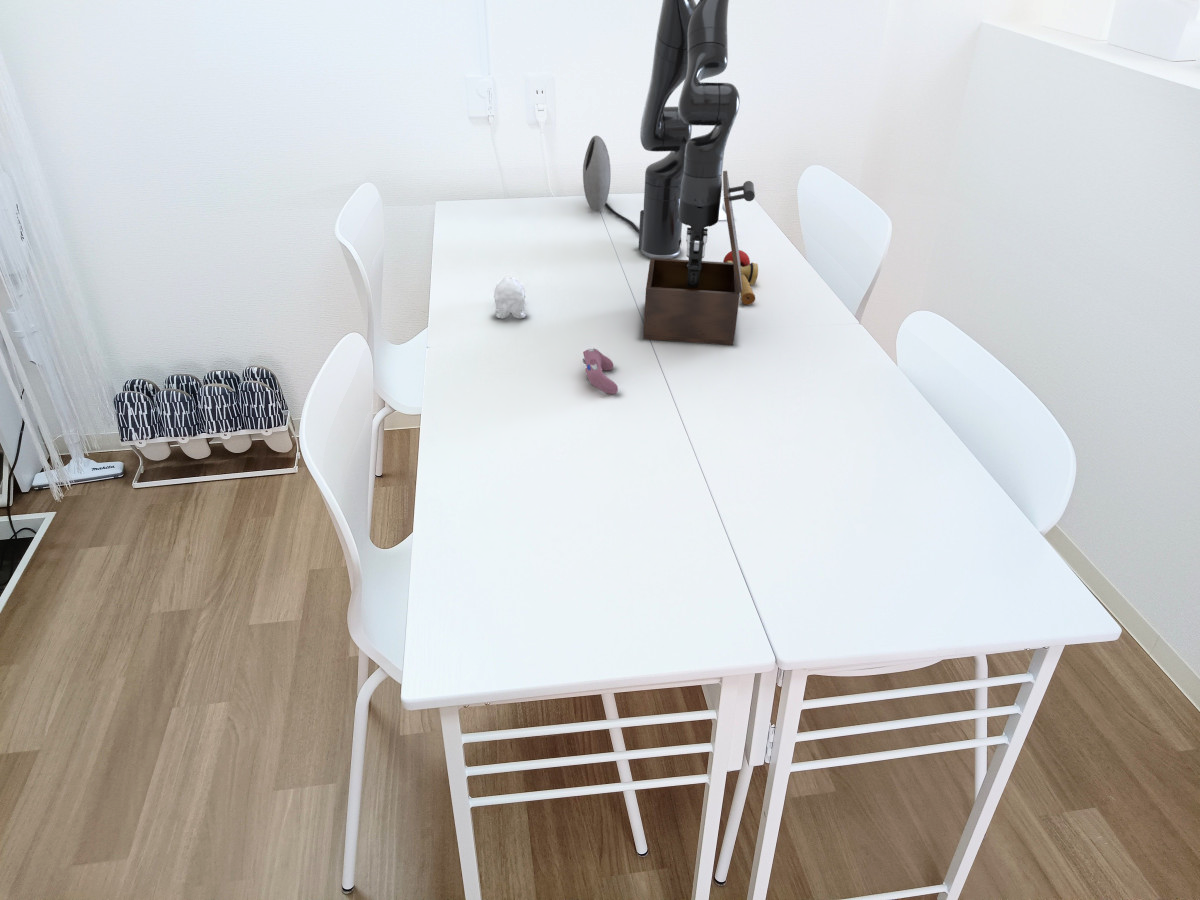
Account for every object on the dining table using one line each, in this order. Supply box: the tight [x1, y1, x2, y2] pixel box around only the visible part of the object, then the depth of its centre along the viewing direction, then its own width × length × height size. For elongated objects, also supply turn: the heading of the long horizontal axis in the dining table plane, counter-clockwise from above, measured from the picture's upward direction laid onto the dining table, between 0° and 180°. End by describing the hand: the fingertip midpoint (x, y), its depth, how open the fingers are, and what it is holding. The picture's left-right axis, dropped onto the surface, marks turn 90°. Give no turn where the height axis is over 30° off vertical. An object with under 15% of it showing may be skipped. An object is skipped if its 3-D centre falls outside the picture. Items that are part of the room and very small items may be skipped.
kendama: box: [722, 249, 759, 306], centre depth 191 cm, size 8×6×18 cm
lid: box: [722, 170, 756, 292], centre depth 164 cm, size 19×15×5 cm
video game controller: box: [582, 347, 619, 395], centre depth 156 cm, size 10×5×7 cm, turn 5°
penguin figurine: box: [493, 276, 527, 319], centre depth 178 cm, size 6×8×12 cm
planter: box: [582, 135, 612, 213], centre depth 224 cm, size 18×7×19 cm, turn 3°
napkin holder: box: [718, 194, 727, 221], centre depth 229 cm, size 15×11×6 cm
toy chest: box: [642, 258, 741, 346], centre depth 174 cm, size 18×15×11 cm
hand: (692, 278), depth 171 cm, fingers open, 7 cm apart
